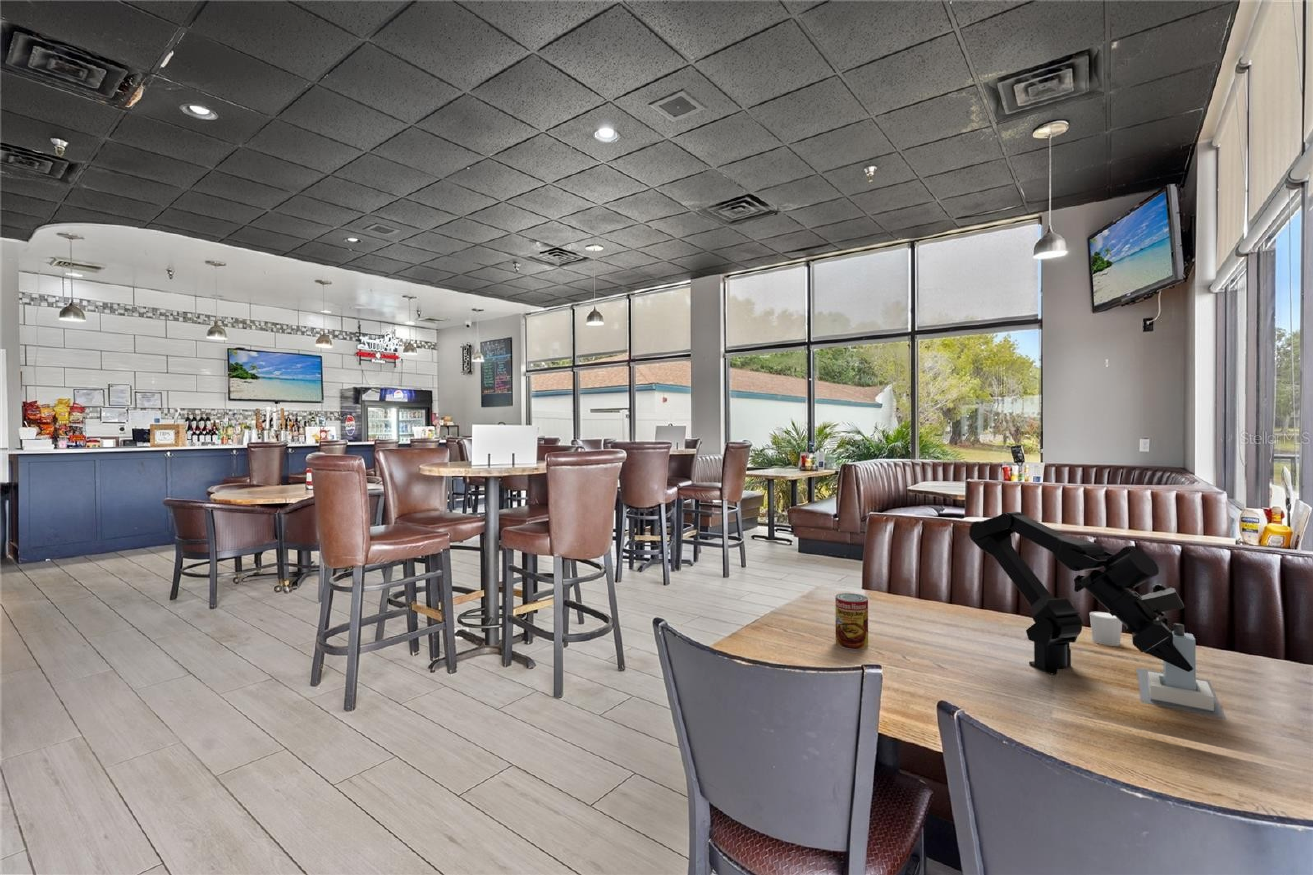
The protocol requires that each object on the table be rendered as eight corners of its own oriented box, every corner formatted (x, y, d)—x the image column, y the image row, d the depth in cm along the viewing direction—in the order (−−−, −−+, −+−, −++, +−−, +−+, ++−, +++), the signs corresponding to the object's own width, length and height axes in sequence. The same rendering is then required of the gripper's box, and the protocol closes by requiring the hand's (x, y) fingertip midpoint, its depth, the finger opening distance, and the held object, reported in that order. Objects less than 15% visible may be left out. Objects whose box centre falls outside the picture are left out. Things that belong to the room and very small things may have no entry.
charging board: (1226, 724, 109) (1226, 718, 109) (1141, 707, 116) (1141, 701, 116) (1209, 685, 127) (1209, 680, 127) (1136, 672, 134) (1136, 667, 134)
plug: (1165, 697, 117) (1165, 625, 117) (1163, 690, 120) (1162, 619, 121) (1195, 703, 114) (1195, 629, 114) (1192, 695, 118) (1192, 623, 118)
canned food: (834, 647, 150) (833, 599, 150) (837, 638, 157) (836, 592, 157) (867, 651, 147) (867, 602, 147) (869, 641, 154) (868, 594, 154)
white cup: (1129, 647, 150) (1128, 619, 150) (1097, 645, 151) (1097, 617, 151) (1114, 638, 156) (1113, 611, 156) (1084, 637, 158) (1084, 610, 158)
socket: (1150, 701, 116) (1150, 685, 116) (1148, 685, 124) (1147, 671, 124) (1213, 713, 111) (1213, 697, 111) (1207, 697, 118) (1206, 681, 118)
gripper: (1155, 581, 112) (1237, 653, 106) (1149, 565, 127) (1220, 627, 121) (1103, 616, 117) (1178, 687, 110) (1103, 596, 132) (1169, 658, 125)
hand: (1188, 663), depth 117 cm, fingers open, 9 cm apart
